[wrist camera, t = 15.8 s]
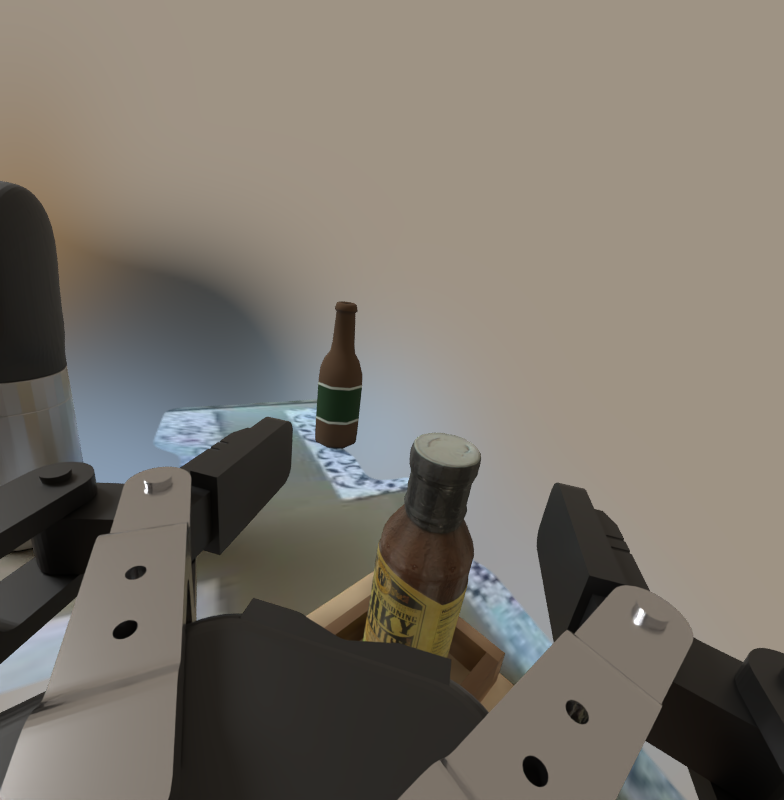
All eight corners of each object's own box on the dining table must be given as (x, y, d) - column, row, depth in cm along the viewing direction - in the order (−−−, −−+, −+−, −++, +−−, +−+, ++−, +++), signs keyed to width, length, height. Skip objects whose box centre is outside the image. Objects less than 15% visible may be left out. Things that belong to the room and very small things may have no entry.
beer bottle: (322, 452, 65) (333, 305, 56) (307, 432, 71) (314, 297, 63) (364, 445, 69) (379, 308, 60) (346, 427, 75) (358, 300, 67)
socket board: (270, 653, 32) (271, 611, 30) (375, 580, 40) (380, 545, 39) (447, 898, 21) (463, 852, 19) (541, 726, 29) (557, 685, 28)
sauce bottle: (347, 651, 31) (373, 425, 24) (414, 625, 34) (455, 417, 27) (381, 738, 26) (427, 480, 19) (458, 699, 29) (522, 463, 22)
